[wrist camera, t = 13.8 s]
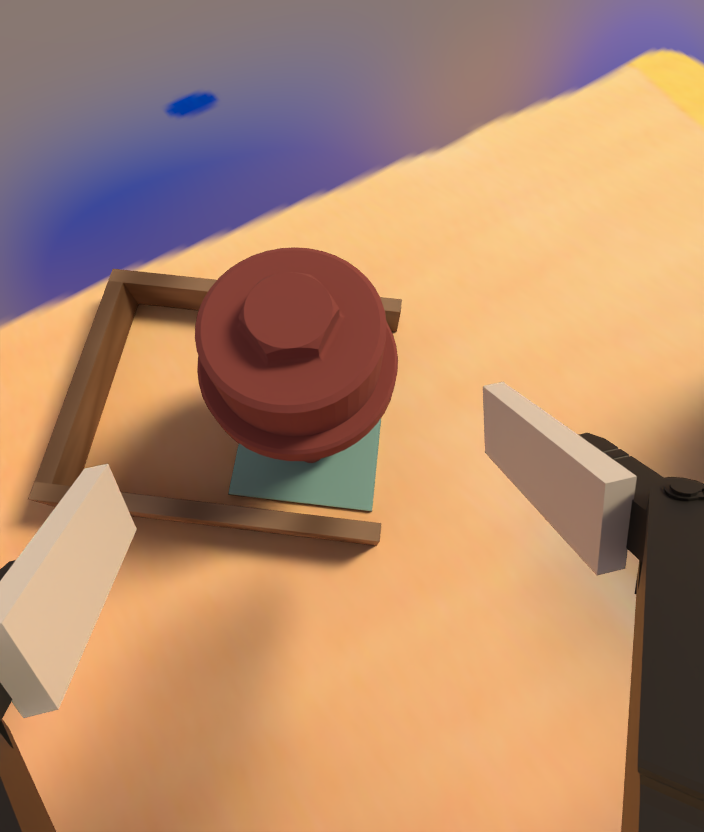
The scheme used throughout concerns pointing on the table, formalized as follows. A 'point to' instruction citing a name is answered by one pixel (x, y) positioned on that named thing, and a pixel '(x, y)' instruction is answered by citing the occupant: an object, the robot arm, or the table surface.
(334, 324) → the mechanical component
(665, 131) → the table surface
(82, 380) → the bay
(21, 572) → the robot arm
